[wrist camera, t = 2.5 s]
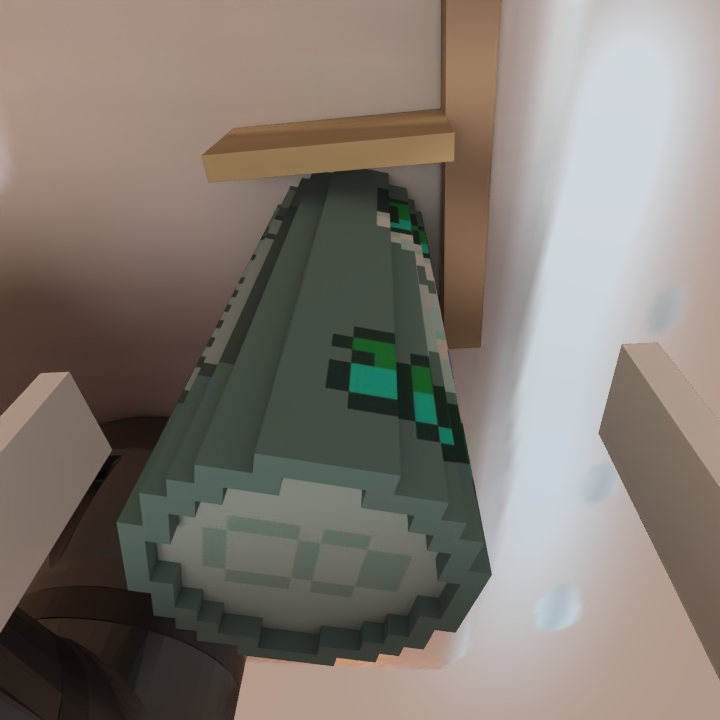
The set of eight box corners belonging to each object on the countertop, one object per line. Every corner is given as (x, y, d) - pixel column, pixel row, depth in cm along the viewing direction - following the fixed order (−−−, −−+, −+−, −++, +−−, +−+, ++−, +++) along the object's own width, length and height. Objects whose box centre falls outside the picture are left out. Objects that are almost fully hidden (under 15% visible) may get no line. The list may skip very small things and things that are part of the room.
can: (402, 316, 23) (427, 677, 11) (270, 292, 22) (136, 642, 10) (439, 183, 19) (540, 497, 7) (283, 152, 19) (101, 429, 6)
